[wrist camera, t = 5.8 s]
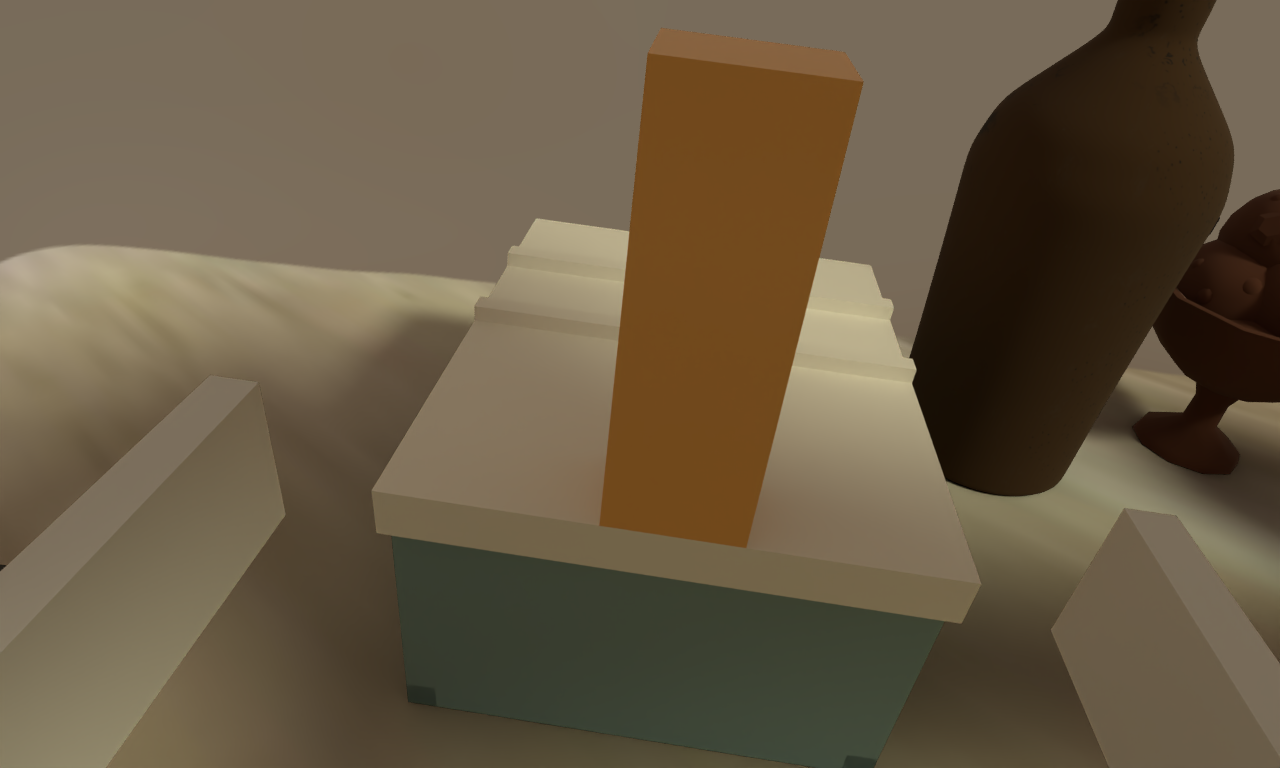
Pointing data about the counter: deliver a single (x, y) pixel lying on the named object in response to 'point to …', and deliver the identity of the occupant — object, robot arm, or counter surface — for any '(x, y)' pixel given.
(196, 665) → the counter surface
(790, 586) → the lid
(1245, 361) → the ice cream bowl
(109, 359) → the counter surface
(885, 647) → the tub
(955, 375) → the olive oil
